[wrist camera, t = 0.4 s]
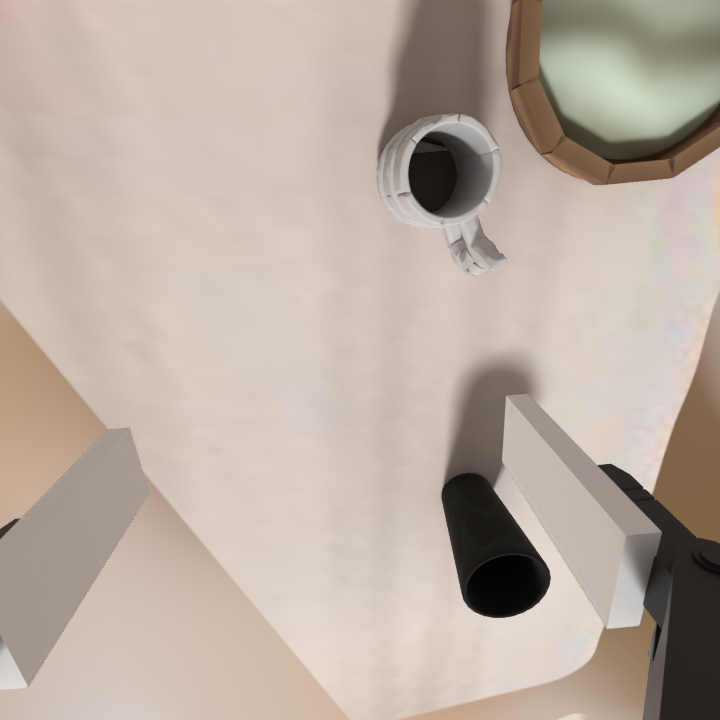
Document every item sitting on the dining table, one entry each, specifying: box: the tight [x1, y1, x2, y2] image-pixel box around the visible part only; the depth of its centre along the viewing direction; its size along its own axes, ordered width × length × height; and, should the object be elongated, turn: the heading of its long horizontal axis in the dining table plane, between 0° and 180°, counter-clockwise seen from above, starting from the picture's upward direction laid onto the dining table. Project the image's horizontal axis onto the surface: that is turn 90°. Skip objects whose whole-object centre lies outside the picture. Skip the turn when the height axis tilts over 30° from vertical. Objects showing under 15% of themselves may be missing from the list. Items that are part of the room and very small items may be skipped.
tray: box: [506, 0, 720, 185], centre depth 31 cm, size 20×20×3 cm
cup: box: [442, 473, 551, 618], centre depth 42 cm, size 8×8×12 cm
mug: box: [377, 113, 507, 277], centre depth 30 cm, size 8×12×12 cm, turn 28°
